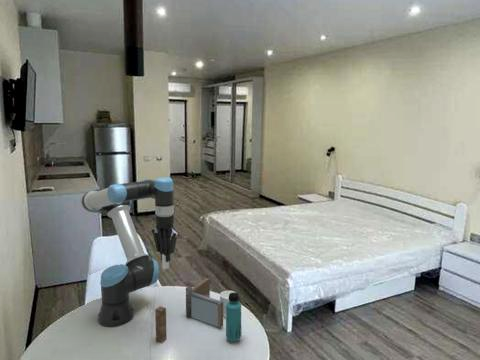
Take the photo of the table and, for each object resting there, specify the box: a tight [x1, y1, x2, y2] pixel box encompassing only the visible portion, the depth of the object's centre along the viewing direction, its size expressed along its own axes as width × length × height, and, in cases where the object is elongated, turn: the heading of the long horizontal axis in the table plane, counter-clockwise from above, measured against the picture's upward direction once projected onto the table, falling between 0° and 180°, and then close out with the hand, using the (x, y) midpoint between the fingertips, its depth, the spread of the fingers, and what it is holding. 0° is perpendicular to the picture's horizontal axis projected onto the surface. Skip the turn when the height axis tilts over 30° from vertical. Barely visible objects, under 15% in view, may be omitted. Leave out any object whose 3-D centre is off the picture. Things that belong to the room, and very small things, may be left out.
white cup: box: [219, 290, 237, 319], centre depth 159 cm, size 8×8×10 cm
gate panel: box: [191, 292, 224, 329], centre depth 151 cm, size 16×2×12 cm, turn 59°
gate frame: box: [154, 277, 211, 344], centre depth 154 cm, size 3×38×14 cm, turn 154°
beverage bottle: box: [225, 292, 242, 342], centre depth 139 cm, size 6×7×20 cm
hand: (165, 268), depth 146 cm, fingers closed
